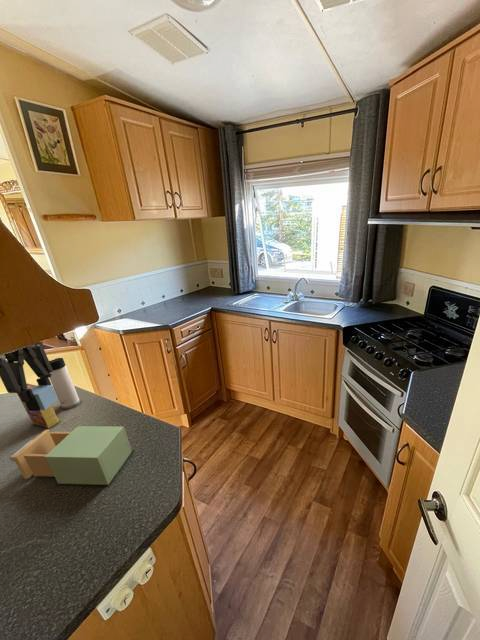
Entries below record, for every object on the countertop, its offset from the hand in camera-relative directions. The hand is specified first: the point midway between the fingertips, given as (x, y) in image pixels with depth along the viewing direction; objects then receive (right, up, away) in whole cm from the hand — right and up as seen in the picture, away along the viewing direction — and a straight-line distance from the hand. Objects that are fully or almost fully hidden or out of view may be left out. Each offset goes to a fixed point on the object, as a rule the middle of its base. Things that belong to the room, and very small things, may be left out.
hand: (42, 404), depth 81 cm
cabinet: (+14, -19, +3) cm, 23 cm away
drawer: (+1, -18, +4) cm, 18 cm away
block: (0, 0, 0) cm, 0 cm away
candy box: (-18, -11, +24) cm, 32 cm away
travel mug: (-16, -6, +35) cm, 39 cm away
